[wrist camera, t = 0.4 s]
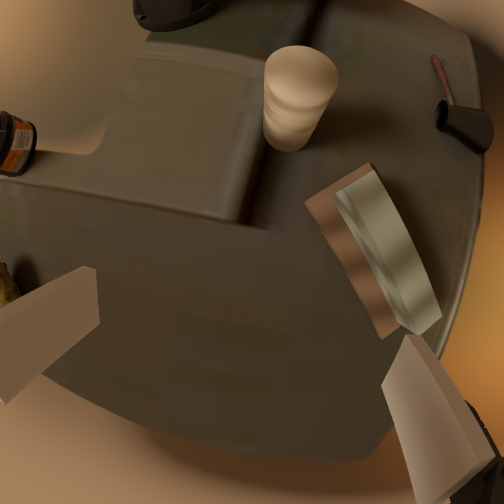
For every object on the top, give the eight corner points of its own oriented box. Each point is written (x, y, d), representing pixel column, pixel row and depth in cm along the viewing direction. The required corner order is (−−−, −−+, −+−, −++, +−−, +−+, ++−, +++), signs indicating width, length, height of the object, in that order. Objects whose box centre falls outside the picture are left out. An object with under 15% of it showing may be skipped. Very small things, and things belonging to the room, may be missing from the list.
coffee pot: (474, 161, 31) (433, 145, 32) (460, 82, 32) (422, 67, 33) (499, 143, 23) (455, 122, 25) (475, 60, 24) (435, 42, 26)
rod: (262, 110, 32) (262, 45, 18) (308, 109, 32) (332, 48, 18) (264, 152, 32) (267, 101, 18) (312, 151, 32) (343, 104, 18)
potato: (16, 327, 36) (-11, 338, 28) (3, 260, 35) (-26, 264, 27) (40, 328, 35) (11, 342, 27) (26, 255, 34) (-7, 259, 26)
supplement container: (46, 141, 33) (-1, 123, 21) (17, 189, 34) (-31, 183, 22) (29, 113, 33) (-11, 95, 21) (2, 158, 33) (-40, 148, 21)
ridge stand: (303, 202, 33) (314, 194, 26) (365, 164, 32) (388, 149, 25) (379, 337, 34) (401, 357, 27) (431, 296, 33) (459, 307, 26)
